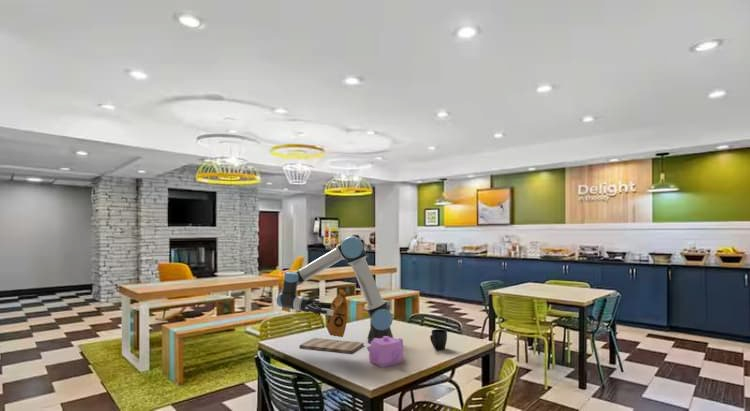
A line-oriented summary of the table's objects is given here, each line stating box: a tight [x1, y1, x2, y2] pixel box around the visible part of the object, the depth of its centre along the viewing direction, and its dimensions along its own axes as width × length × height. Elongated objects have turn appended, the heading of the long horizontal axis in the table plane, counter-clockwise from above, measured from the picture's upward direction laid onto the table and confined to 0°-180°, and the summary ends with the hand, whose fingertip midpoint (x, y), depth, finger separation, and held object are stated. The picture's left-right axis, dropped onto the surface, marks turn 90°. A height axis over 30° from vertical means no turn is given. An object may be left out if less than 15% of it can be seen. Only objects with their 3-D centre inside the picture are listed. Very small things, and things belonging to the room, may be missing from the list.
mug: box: [429, 328, 448, 351], centre depth 219 cm, size 8×12×10 cm
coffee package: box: [326, 288, 349, 338], centre depth 212 cm, size 10×12×22 cm
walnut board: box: [299, 337, 365, 355], centre depth 227 cm, size 32×16×2 cm, turn 68°
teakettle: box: [366, 336, 404, 368], centre depth 200 cm, size 17×17×12 cm
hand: (338, 311), depth 212 cm, fingers closed on coffee package, 13 cm apart
